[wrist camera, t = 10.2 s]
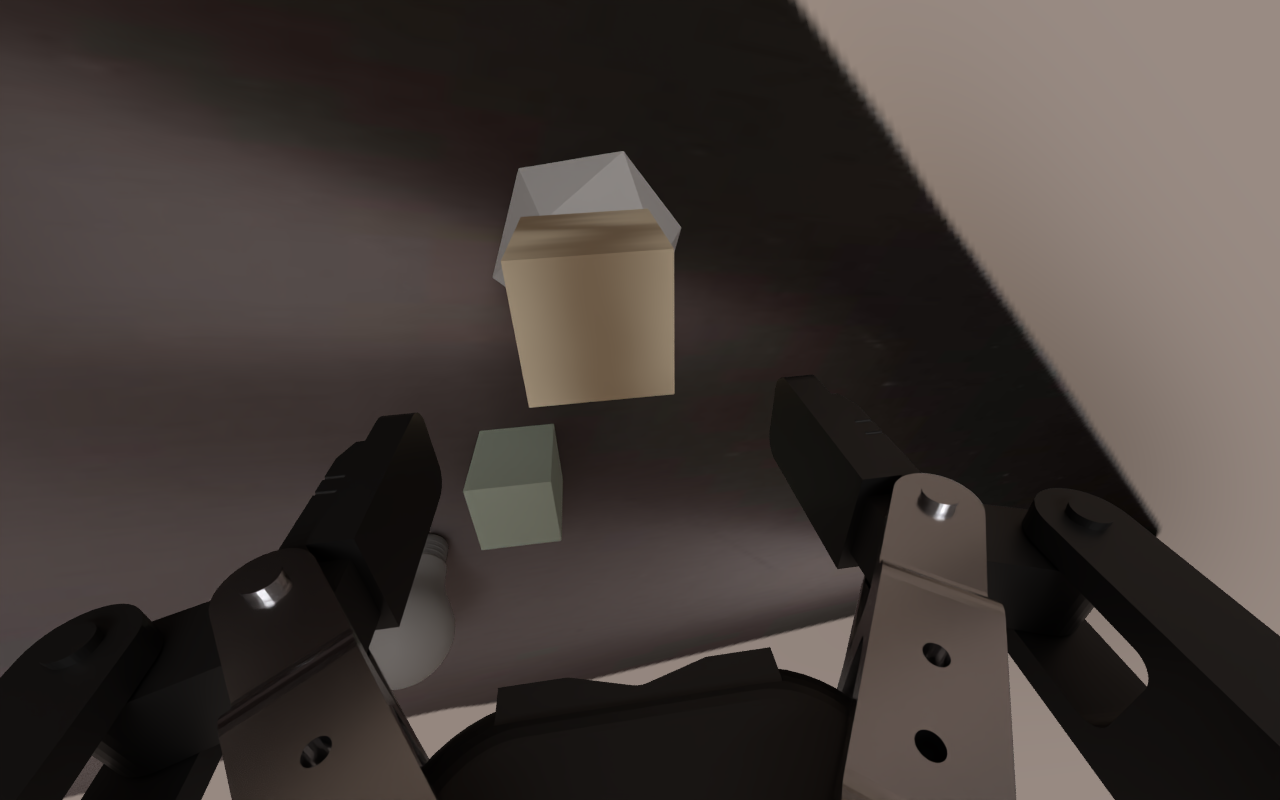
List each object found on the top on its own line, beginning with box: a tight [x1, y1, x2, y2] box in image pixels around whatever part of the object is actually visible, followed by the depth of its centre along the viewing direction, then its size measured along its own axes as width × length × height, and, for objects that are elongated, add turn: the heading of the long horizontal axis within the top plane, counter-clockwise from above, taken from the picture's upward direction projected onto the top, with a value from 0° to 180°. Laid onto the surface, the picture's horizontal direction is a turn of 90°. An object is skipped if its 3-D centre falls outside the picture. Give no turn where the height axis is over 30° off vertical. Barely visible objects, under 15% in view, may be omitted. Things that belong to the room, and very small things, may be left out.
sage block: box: [463, 424, 563, 550], centre depth 32 cm, size 5×5×6 cm
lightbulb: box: [369, 534, 455, 690], centre depth 33 cm, size 6×6×11 cm
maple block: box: [501, 209, 674, 408], centre depth 18 cm, size 5×5×6 cm
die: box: [493, 151, 681, 287], centre depth 24 cm, size 8×9×10 cm
